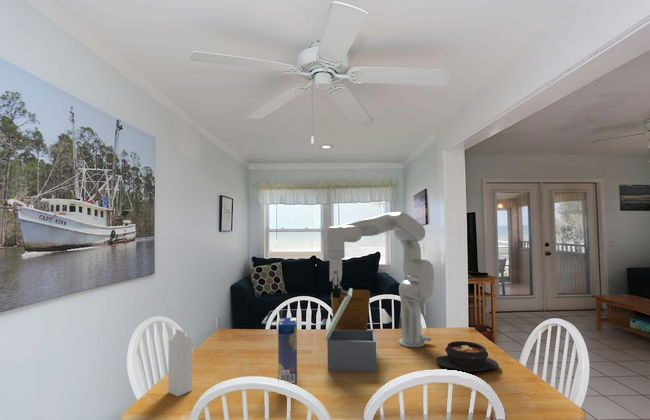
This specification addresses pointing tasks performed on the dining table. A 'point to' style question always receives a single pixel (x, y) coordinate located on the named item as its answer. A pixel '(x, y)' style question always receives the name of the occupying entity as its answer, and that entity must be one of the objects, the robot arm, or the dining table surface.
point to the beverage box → (287, 349)
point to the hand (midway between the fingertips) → (336, 295)
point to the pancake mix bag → (352, 310)
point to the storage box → (352, 350)
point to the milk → (180, 364)
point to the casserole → (466, 357)
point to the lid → (339, 311)
